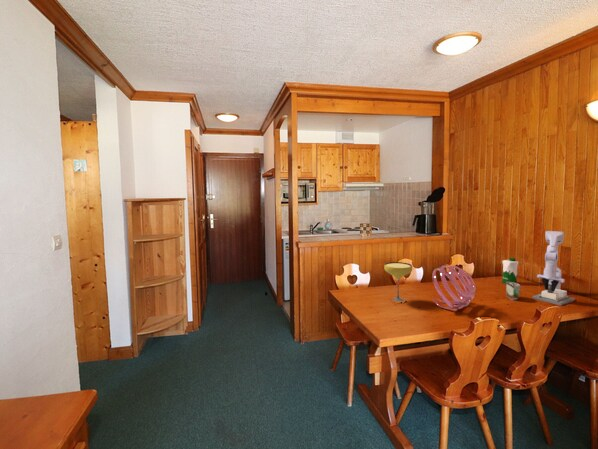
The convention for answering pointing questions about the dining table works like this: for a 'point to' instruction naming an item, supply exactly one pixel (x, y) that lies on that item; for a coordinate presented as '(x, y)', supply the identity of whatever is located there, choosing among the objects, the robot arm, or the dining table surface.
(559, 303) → the base
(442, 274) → the spiral basket
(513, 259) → the milk carton
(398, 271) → the cocktail glass
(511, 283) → the food container
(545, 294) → the sliding jaw
